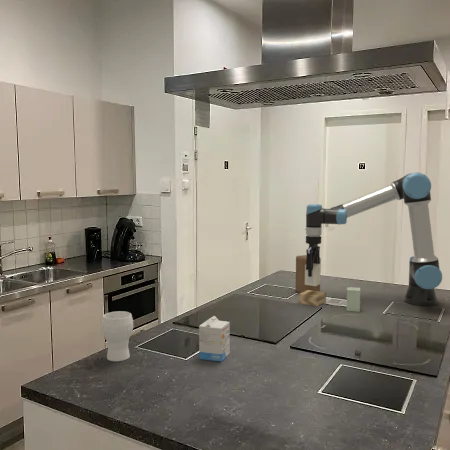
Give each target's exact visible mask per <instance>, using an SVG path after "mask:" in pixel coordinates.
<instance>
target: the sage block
mask: <svg viewBox="0 0 450 450" xmlns="http://www.w3.org/2000/svg"><path fill="white" fill-rule="evenodd" d="M345 311H346V312H355V313H356V312H358V313H360V312H361V287H354V286H353V287H351V286H350V287H349V286H347V287H346V310H345Z"/></svg>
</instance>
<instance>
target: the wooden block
mask: <svg viewBox="0 0 450 450" xmlns="http://www.w3.org/2000/svg"><path fill="white" fill-rule="evenodd" d="M306 258H307V254H304V255H296V257H295V291H296V292H297V293H299V294H300V293H302V292H304V291H307V290H312V291H318V292H321V283H320V284H319V285H317V286H311V285H305V265H306ZM321 260H322V259H321V258H320V264H321V262H322V261H321ZM321 265H322V264H321Z"/></svg>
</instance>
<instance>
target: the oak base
mask: <svg viewBox="0 0 450 450" xmlns="http://www.w3.org/2000/svg"><path fill="white" fill-rule="evenodd" d="M298 303H299V304H303V305H310V306H314V307H318V306H320V305H323V304H324V303H327V292H325V291H320V292H318V291H312V290H307V291H304V292H302V293H299V294H298Z"/></svg>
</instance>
